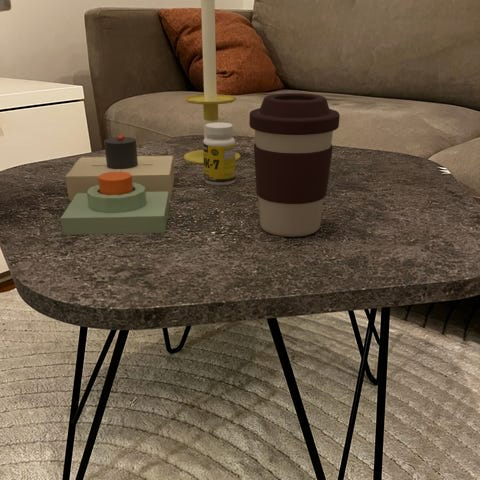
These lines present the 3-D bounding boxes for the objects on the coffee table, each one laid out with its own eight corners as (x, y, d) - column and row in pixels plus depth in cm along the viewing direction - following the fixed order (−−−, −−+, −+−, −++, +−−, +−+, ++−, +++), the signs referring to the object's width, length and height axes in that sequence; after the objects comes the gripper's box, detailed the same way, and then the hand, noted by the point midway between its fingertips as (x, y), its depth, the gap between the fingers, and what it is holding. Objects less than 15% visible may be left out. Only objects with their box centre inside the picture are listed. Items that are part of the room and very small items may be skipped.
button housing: (63, 235, 69) (57, 202, 68) (78, 209, 78) (74, 179, 76) (165, 233, 70) (163, 200, 68) (169, 207, 79) (167, 177, 77)
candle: (239, 164, 99) (238, -21, 86) (180, 164, 99) (170, -21, 87) (241, 150, 108) (240, -20, 95) (187, 150, 108) (179, -19, 95)
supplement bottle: (197, 182, 90) (195, 124, 86) (220, 176, 93) (219, 120, 89) (219, 188, 87) (218, 129, 83) (242, 182, 90) (241, 124, 86)
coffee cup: (333, 216, 75) (342, 91, 68) (328, 245, 66) (339, 105, 59) (256, 212, 77) (257, 89, 69) (242, 239, 68) (242, 102, 61)
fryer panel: (68, 201, 81) (65, 175, 79) (83, 180, 91) (80, 156, 89) (170, 199, 82) (169, 173, 80) (174, 178, 92) (173, 154, 90)
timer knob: (136, 168, 83) (133, 141, 81) (104, 169, 83) (101, 141, 81) (139, 161, 87) (137, 134, 85) (109, 161, 87) (106, 135, 85)
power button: (97, 197, 71) (95, 180, 70) (102, 188, 74) (100, 171, 73) (131, 196, 71) (129, 179, 70) (134, 187, 74) (133, 171, 73)
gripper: (-21, -129, 68) (0, 7, 75) (-103, -170, 50) (-66, 13, 57) (35, -127, 68) (50, 8, 75) (-27, -167, 50) (1, 16, 57)
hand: (0, 11), depth 66 cm, fingers closed
